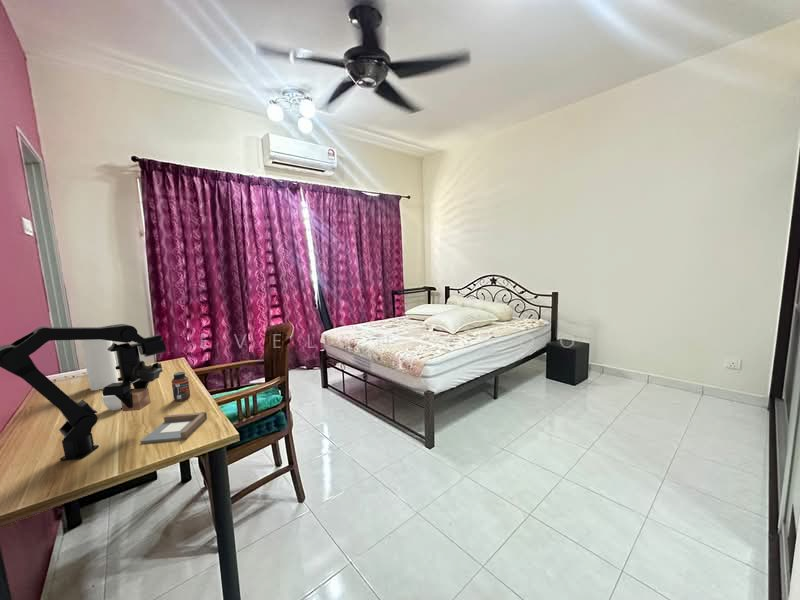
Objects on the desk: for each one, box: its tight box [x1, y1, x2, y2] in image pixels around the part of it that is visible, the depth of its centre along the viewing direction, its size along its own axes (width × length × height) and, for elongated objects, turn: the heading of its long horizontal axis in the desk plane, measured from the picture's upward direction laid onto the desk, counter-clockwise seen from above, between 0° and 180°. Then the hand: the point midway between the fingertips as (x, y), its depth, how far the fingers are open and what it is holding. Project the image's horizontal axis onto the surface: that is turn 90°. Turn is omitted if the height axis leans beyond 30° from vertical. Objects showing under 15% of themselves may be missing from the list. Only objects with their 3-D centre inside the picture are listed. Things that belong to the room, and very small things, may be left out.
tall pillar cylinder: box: [80, 339, 120, 391], centre depth 159 cm, size 11×11×25 cm
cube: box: [121, 387, 152, 412], centre depth 114 cm, size 6×6×6 cm
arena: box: [140, 411, 208, 444], centre depth 114 cm, size 14×14×2 cm
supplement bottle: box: [171, 371, 191, 402], centre depth 140 cm, size 6×6×11 cm
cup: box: [101, 394, 122, 412], centre depth 134 cm, size 8×10×7 cm
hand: (136, 404), depth 114 cm, fingers closed on cube, 5 cm apart
